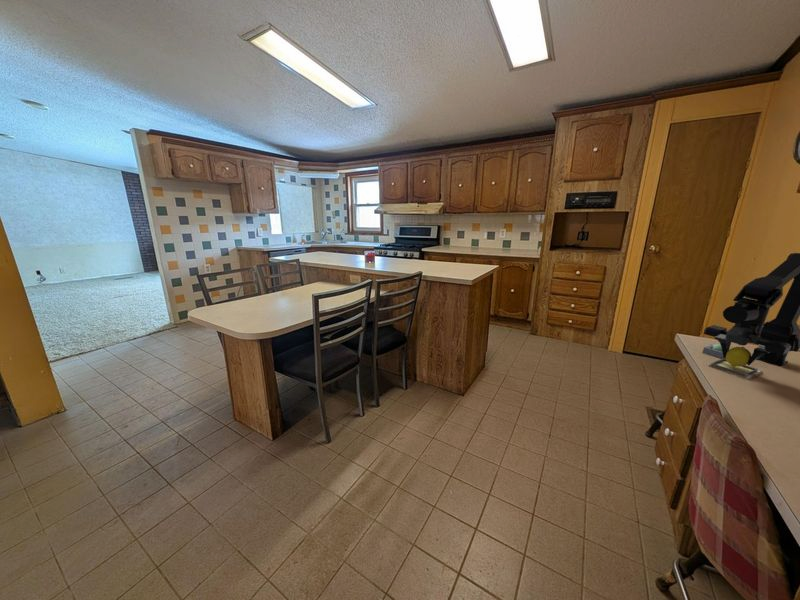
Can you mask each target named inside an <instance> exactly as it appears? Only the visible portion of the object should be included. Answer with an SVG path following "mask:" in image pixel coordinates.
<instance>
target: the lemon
mask: <svg viewBox="0 0 800 600" xmlns="http://www.w3.org/2000/svg"><path fill="white" fill-rule="evenodd" d="M751 356H752V353H751V352H750V350H748V349H747V348H746V347H745V346H734V347H730V348H729V351H728V352H727V354H726V358H725V359H726V360H727V362H728V363H729V364H731V366H733V367H736V366H744V365H746V366H747V364H748V361H749V359H750V357H751Z"/></svg>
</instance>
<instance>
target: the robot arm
mask: <svg viewBox="0 0 800 600" xmlns="http://www.w3.org/2000/svg"><path fill="white" fill-rule="evenodd" d="M791 281H792V283H791V285H790V286H789V289H788V291H787V294H786V296H785V298H784V300H783V301H782V304H781V306H780V307H779V310H778V312H777V314H776V316H775V317H774V318H773V319H771V320H769V321H766V320H767V317H768V314H769V312H770V309H771V307H773V306H774V305H775V304H776V303H777V302H778V301H779V300H780V299H781V298H782V297H783V295H784V293H783V292H784V291H783V289H784V286H786V285H787V284H788V283H789V282H791ZM732 301H734V305H729V306H728V307H726V308H725V309H723V311H722V316H723V318H724V319H725V320H726V322H727V321H728V322H729V323H733V324H734V325H733V326H732V327H731V328H730V329H728V330H727V328H726V327H723V326H719V325H716V324H713V325H710V326H707V327H705V328H704V332H703V334H704V335H706V336H710V337H713V338H714V340H717V342H718V343H720V344H721V348H722V353H723V357H724V358H725V359H726V354H727V352H728V351H729V350H730V349H731V344H732V343H734V344H736V345H739V346H742V347H745V346H747V345H748V344H753V345H756V346H757V347H756V348H754V349H753V352H752V353H751V357H750V359H749V361H748V364H746V366H750V365H752V364H753V363H754V362H755V361H756V360H758V361H761V362H766V363H769V364H772V365H775V366H779V367H782V366H785V365H786V364H788V363H789V361H788V360H786V358H787V356H788V354H789V353H790V352H799V350H800V328H799V324H798V323H797V321H799V318H800V252H793V253H789V255H788V256H787V258H786V259H785V260H784V261H783V262H782V263H780V264H779V265H778V266H777V267H776V268H774V269H773V270H771V272H770V273H768V274H767V275H765V276H761V277H757V278H755V279H753V280H751V281H750V282H748V283H746V284H745V285H744V286H743V287H742V288H741V289H740V291H739V292H738V293H737V295H735V297H734V298H733V300H732Z"/></svg>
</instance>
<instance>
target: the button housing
mask: <svg viewBox="0 0 800 600" xmlns="http://www.w3.org/2000/svg"><path fill="white" fill-rule="evenodd" d="M713 345H714V344H709V345H707V346H704V347H703V350H702V354H705V355H708V356H711V357H715V358H718V359H726V358H724V357H723V353H722V352H721V351H718V350H715V349H712V348H713Z"/></svg>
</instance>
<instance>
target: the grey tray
mask: <svg viewBox="0 0 800 600" xmlns="http://www.w3.org/2000/svg"><path fill="white" fill-rule="evenodd" d="M708 367H710V368H713V369H716V370H719V371H721V372H724V373H726V374H731V375H733V376H736V377H739V378H742V379H745V380H748V381H750V380H752V379H753V378H756V377H757V376H759V375H762V374H763V373H764V371H762V370H759V369H758V368H755V367H752V366H750V365H747V364H746V365H744V366H736V367H733V366H731V364H729V363H728V362H727V360H726V358H725V359H721V358H719V359H718V360H716V361H714V362H711V364H709V365H708Z"/></svg>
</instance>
